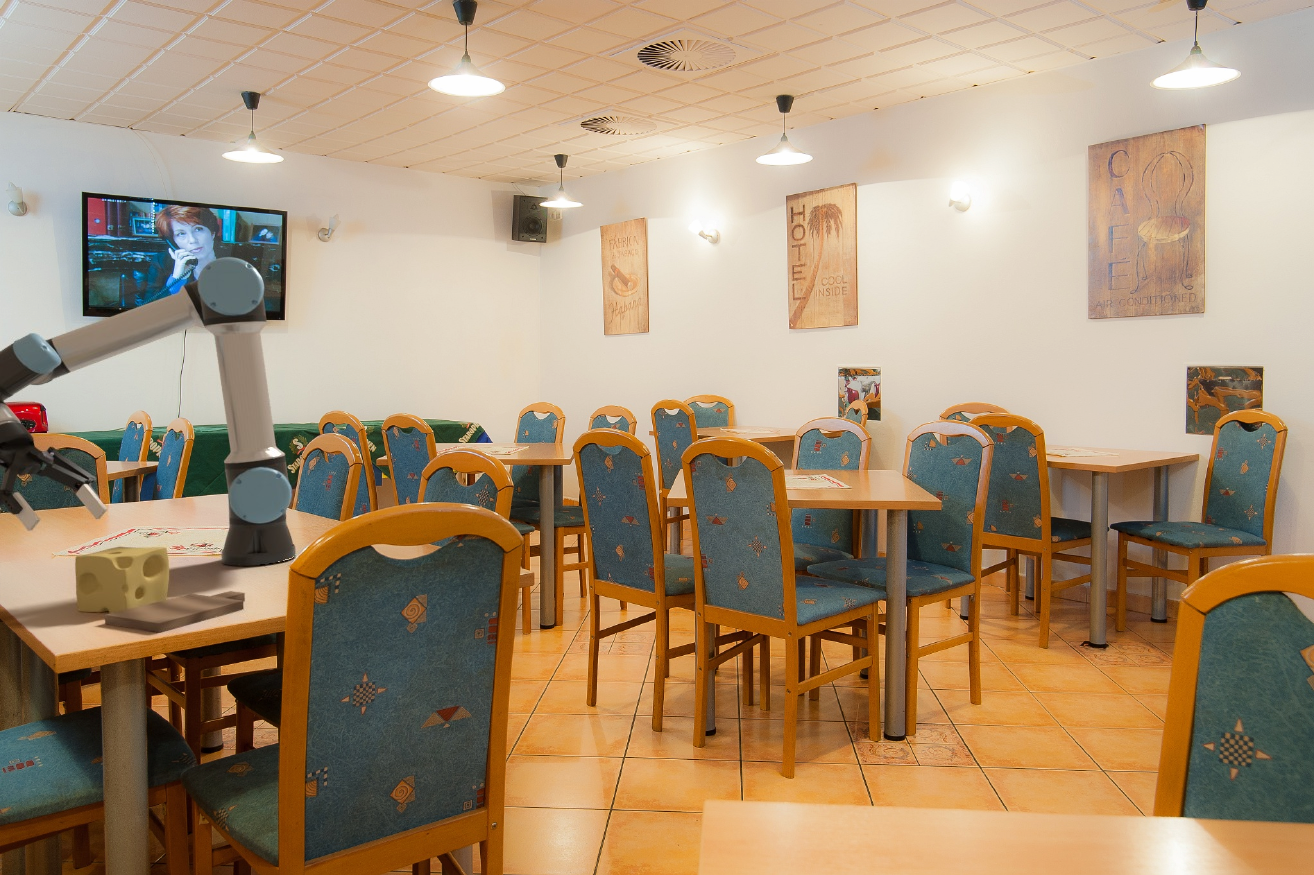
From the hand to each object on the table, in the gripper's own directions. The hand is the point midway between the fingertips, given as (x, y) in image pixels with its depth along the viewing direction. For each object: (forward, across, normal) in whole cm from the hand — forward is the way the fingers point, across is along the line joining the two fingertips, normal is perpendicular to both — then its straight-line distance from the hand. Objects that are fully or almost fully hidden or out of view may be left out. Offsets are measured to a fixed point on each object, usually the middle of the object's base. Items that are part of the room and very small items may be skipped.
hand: (69, 519), depth 159 cm
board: (+29, +1, +8) cm, 30 cm away
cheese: (+18, 0, -3) cm, 19 cm away
